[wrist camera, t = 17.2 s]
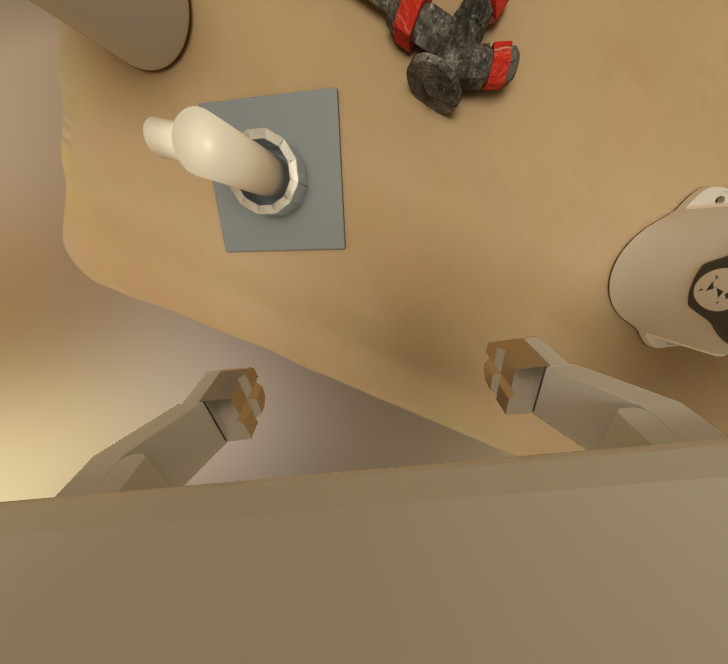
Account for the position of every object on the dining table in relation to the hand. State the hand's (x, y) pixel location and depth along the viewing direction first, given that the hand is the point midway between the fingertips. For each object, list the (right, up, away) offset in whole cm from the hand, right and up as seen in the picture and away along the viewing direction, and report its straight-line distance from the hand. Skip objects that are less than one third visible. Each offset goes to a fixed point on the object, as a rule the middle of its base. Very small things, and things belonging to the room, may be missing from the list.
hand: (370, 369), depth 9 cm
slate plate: (-12, +22, +27) cm, 36 cm away
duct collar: (-12, +22, +27) cm, 36 cm away
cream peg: (-14, +22, +26) cm, 37 cm away
